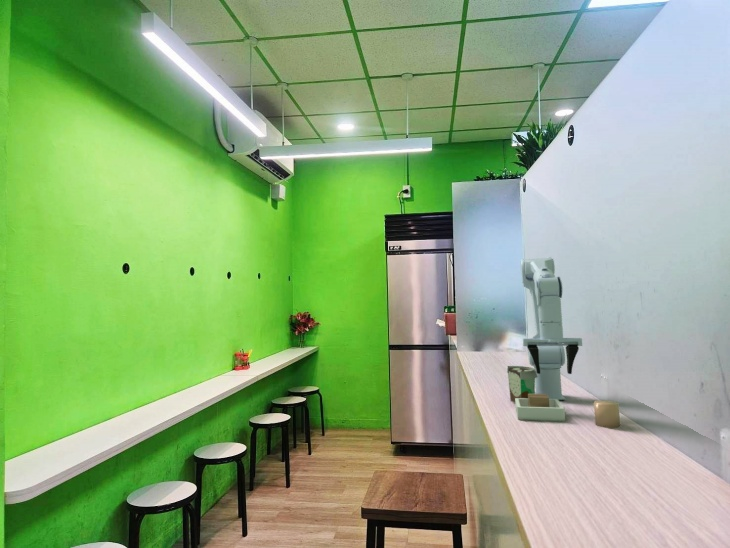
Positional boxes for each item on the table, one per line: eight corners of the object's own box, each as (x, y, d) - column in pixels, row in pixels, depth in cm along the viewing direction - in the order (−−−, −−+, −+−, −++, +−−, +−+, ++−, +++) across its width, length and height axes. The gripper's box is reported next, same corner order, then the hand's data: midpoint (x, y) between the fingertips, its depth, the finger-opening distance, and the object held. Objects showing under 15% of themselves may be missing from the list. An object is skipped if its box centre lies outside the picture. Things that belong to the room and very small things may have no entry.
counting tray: (515, 409, 117) (514, 398, 117) (558, 410, 114) (557, 399, 114) (518, 419, 106) (517, 407, 107) (565, 421, 104) (564, 408, 104)
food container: (546, 409, 116) (544, 371, 117) (523, 410, 116) (520, 371, 117) (529, 399, 128) (527, 365, 129) (508, 400, 128) (506, 365, 129)
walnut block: (528, 411, 113) (527, 393, 113) (547, 411, 112) (546, 393, 112) (530, 415, 108) (529, 397, 109) (550, 416, 107) (548, 397, 108)
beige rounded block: (593, 421, 103) (591, 400, 103) (617, 422, 101) (615, 400, 102) (598, 427, 98) (596, 405, 98) (623, 428, 96) (621, 405, 97)
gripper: (523, 323, 115) (526, 375, 114) (583, 322, 111) (587, 376, 110) (521, 322, 122) (524, 371, 121) (577, 321, 118) (581, 371, 117)
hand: (553, 373), depth 116 cm, fingers open, 7 cm apart
